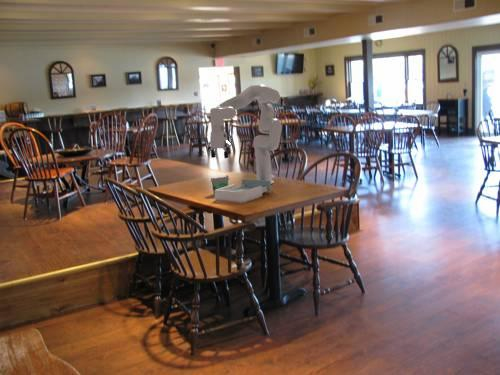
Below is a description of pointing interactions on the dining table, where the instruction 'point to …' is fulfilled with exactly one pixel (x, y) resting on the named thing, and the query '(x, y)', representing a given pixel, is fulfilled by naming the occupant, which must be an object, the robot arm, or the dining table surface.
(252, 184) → the tray
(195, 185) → the dining table surface
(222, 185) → the food container
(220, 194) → the shallow white open box
